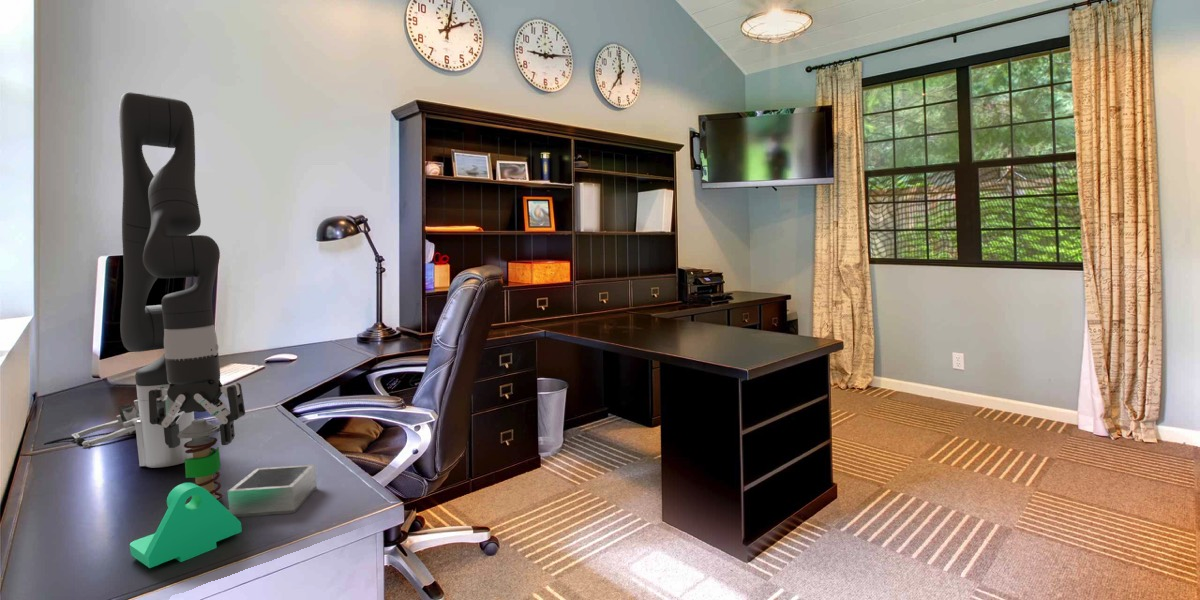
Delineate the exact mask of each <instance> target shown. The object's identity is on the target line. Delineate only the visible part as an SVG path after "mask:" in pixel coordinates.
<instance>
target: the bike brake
mask: <svg viewBox="0 0 1200 600" xmlns="http://www.w3.org/2000/svg"><path fill="white" fill-rule="evenodd" d="M133 403H134V405H132V404H131V403H128V404H127V403H126V404H123V405H121V406H118V407H117V409H118V412H119V415H116V419H117V420H116V419H115V420H112V421H109V422H107V423H102V424H98V425H96V426H95V425H94V426H92V427H89V428H86V429H84V430H81V431H78V432H75V433H72V434H71V436H69V437H63V438H58V439H54V440H50V441H48V442H43V445H49V444H55V443H58V442H62V441H69V440H73V441H74V442H75V443H76V444H78V445H82V447H83V448H84V449H87V448H91V447H92V446H94V445H98V444H101V443H105V442H107V441H110V440H112V439H113V440H114V439H116V438H118V437H120V436H123V435H125V434H127V433H128V434H129V435H133V434H136V427H135V422H136V421H138V420H140V415H139V406H138V399H135V400H133ZM121 425H122V426H123V427H122V428H121V429H119V430H118V429H117V430H116V431H114V432H111V433H109V434H106V435H103V436H99V437H97V438H93V439H90V440H88V439H87V440H86V439H84V438H82V437H83V436H86V435H87V436H88V435H89V434H92V433H95V432H98V431H102V430H106V429H110V428H114V427H115V428H116V427H118V426H121Z"/></svg>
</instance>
